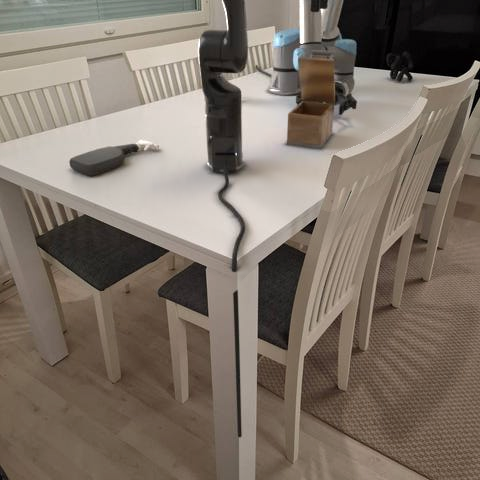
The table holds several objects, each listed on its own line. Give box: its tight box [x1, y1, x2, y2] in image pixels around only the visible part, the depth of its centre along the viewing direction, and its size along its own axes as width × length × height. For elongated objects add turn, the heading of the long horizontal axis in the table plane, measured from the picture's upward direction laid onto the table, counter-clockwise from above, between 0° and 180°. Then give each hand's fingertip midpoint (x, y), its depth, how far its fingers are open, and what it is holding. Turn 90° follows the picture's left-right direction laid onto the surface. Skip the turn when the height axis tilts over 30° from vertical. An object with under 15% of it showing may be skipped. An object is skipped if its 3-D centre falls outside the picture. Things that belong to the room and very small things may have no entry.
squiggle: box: [385, 51, 414, 83], centre depth 198 cm, size 11×10×15 cm
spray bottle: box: [68, 139, 160, 177], centre depth 124 cm, size 3×11×24 cm
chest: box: [286, 101, 336, 150], centre depth 134 cm, size 14×10×9 cm
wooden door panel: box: [298, 50, 335, 103], centre depth 133 cm, size 15×10×8 cm
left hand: (319, 10), depth 118 cm, fingers open, 8 cm apart
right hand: (318, 108), depth 140 cm, fingers open, 13 cm apart
